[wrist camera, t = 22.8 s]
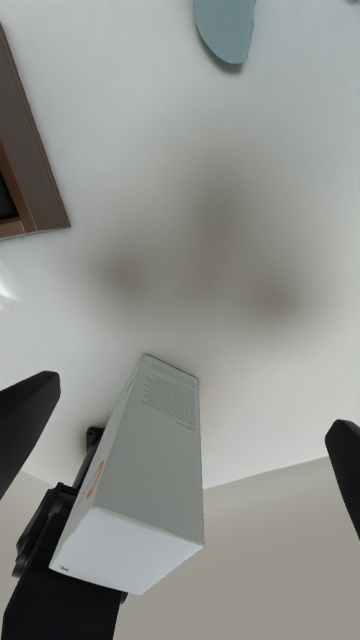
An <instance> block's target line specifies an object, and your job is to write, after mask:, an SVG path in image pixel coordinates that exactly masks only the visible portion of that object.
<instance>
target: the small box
mask: <svg viewBox="0 0 360 640" xmlns="http://www.w3.org/2000/svg"><path fill="white" fill-rule="evenodd" d="M204 545H205V543H204V519H203V494H202V465H201V436H200V409H199V381H198V379H197V378H195V377H192V376H190V375H188V374H186V373H184V372H182V371H180V370H178V369H176V368H173V367H171V366H169V365H167V364H165V363H163V362H161V361H159V360H157V359H155V358H153V357H150V356H148V355H146V354H144V355H143V356H142V358H141V360H140V361H139V363H138V365H137V366H136V368H135V370H134V371H133V373H132V375H131V377H130V378H129V380H128V382H127V384H126V386H125V387H124V389H123V391H122V393H121V394H120V396H119V398H118V400H117V402H116V404H115V406H114V408H113V411H112V413H111V416H110V418H109V421H108V423H107V426H106V428H105V431H104V434H103V436H102V439H101V441H100V443H99V446H98V448H97V451H96V453H95V455H94V458H93V460H92V463H91V465H90V467H89V470H88V472H87V474H86V477H85V479H84V482H83V484H82V486H81V489H80V491H79V494H78V496H77V499H76V501H75V503H74V506H73V508H72V511H71V513H70V516H69V518H68V521H67V523H66V525H65V528H64V530H63V533H62V535H61V537H60V540H59V542H58V545H57V547H56V550H55V552H54V555H53V557H52V560H51V562H50V565H49V568H51V569H52V570H55V571H57V572H60V573H63V574H65V575H68V576H72V577H75V578H78V579H81V580H85V581H88V582H91V583H95V584H98V585H102V586H105V587H109V588H113V589H117V590H121V591H125V592H129V593H133V594H136V595H142V594H143V593H144V592H145V591H147V590H148V589H149V588H151V587H152V586H153V585H154V584H156V583H157V582H158V581H159V580H161V579H162V578H164V577H165V576H166V575H167V574H169V573H170V572H171V571H172V570H174V569H175V568H176V567H178V566H179V565H180V564H182V563H183V562H184V561H186V560H187V559H188V558H189V557H191V556H192V555H193V554H195V553H196V552H197V551H198V550H200V549H201V548H203V547H204Z"/></svg>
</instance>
